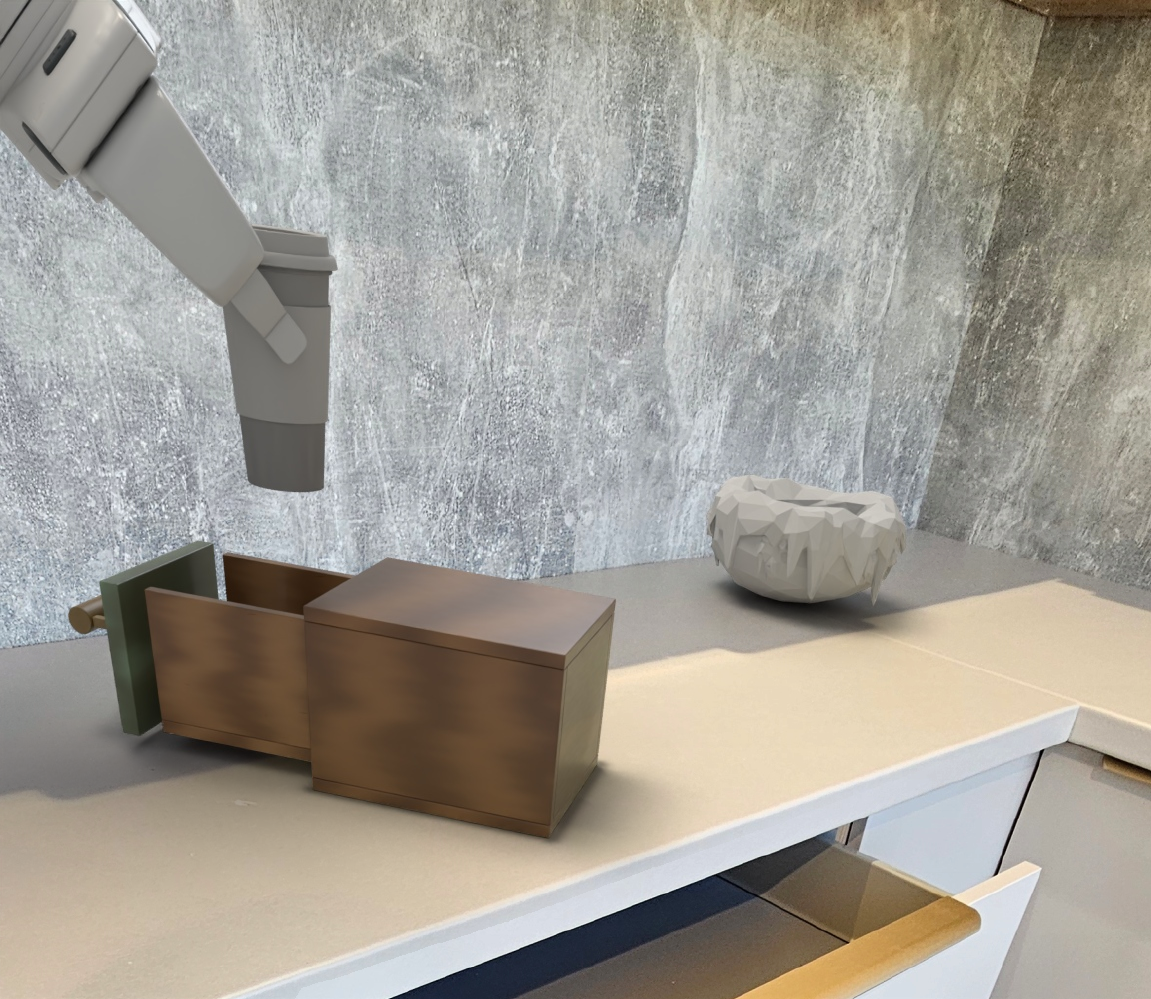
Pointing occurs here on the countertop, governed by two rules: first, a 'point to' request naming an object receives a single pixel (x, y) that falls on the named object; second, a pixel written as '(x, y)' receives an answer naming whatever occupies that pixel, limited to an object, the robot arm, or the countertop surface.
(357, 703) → the cabinet
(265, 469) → the cup
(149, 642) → the drawer
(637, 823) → the countertop surface
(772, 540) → the bowl
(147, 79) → the robot arm
